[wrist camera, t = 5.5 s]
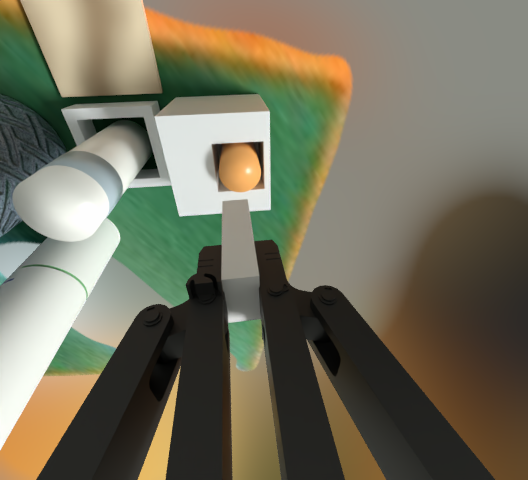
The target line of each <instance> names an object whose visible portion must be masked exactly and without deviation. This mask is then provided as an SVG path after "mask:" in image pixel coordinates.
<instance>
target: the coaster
mask: <svg viewBox="0 0 528 480" xmlns="http://www.w3.org/2000/svg"><path fill="white" fill-rule="evenodd" d="M20 1H21V3H22V5H23V8H24V10H25V12H26V15H27V17H28V19H29V22H30V24H31V26H32V29H33V31H34V33H35V36H36V38H37V40H38V43H39V45H40V47H41V50H42V52H43V54H44V57H45V59H46V61H47V64H48V66H49V68H50V71H51V73H52V75H53V78H54V80H55V82H56V85H57V87H58V89H59V92H60V94H61V96H62V97H80V96H105V95H131V94H156V93H163V90H162V86H161V81H160V77H159V72H158V68H157V63H156V59H155V54H154V50H153V45H152V41H151V36H150V32H149V27H148V23H147V18H146V14H145V9H144V5H143V1H142V0H20Z"/></svg>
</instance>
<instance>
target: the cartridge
mask: <svg viewBox="0 0 528 480" xmlns="http://www.w3.org/2000/svg"><path fill="white" fill-rule="evenodd" d="M152 151H153V149H152V146H151V142H150V139H149V135H148V133H147V131H146V130H145V129H144V128H143V127H142V126H140V125H139V124H137V123H135V122H133V121H129V120H119V121H116V122H114V123H113V124H111V125H109V126H108V127H106V128H105V129H103V130H102V131H100V132H98V133H97V134H95V135H94V136H92V137H91V138H89V139H88V140H86V141H84V142H83V143H81V144H80V145H78V146H77V147H75V148H73V149H72V150H70V151H69V152H67V153H65V154H63V155H61V156H59V157H58V158H56V159H55V160H53V161H52V162H50V163H48V164H47V165H45V166H44V167H42V168H41V169H39V170H38V171H37V172H36V173H34V174H33V175H31V176H30V177H28V178H27V179H25V180H24V181H22V182H21V183H19V184H18V185H17V186H16V188H15V189H14V192H13V197H12V198H13V204H14V207H15V210H16V212H17V213H18V215H19V216H20V218H21V219H22V220H23V221H24V222H25V223H26V224H27V225H28V226H29V227H31V228H32V229H34V230H35V231H37V232H38V233H40V234H42V235H44V236H47V237H49V238H52V239H55V240H59V241H67V242H75V241H81V240H84V239H87V238H89V237H90V236H92V235H93V234H94V233H95V231H96V230H97V229H98V227H99V226H100V225H101V223H102V222H103V221H104V220H105V219H106V218H107V216H108V215H109V214H110V212H111V211H112V209H113V208H114V207H115V205H116V204H117V203H118V201H119V200H120V198H121V196H122V195H123V193H124V192H125V191H126V189H127V188H128V186H129V185H130V184H131V182H132V181H133V180H134V178H135V177H136V176H137V174H138V173H139V171H140V170H141V169H142V167H143V166H144V165H145V163H146V162H147V161H148V159H149V158H150V156H151V154H152Z"/></svg>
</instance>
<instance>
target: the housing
mask: <svg viewBox="0 0 528 480" xmlns="http://www.w3.org/2000/svg"><path fill="white" fill-rule="evenodd" d="M61 111H62V113H63V115H64V117H65V120H66V122H67V124H68V127H69V129H70V131H71V133H72V136H73V138H74V140H75V142H76V145H77V146H78V145H80V144H81V143H83V142H84V141H86V140H88V139H89V138H91V137H92V136H94V135H95V134H97V132H96V129H95V127H94V124H93V122H92V119H109V118H131V117H144V120H145V124H146V128H147V131H148V135H149V139H150V142H151V146H152V149H153V153H154V157H155V160H156V164H157V168H158V169H145V170H140V171H139V173H138V174H137V176H136V177H135V178H134V180H133V181H132V182H131V184H130V185H129V186H128V188H136V187H151V186H167V185H172V189H173V193H174V197H175V201H176V205H177V208H178V212H179V216H190V215H204V214H218V213H222V201H230V200H243V199H248V205H249V211H259V210H271V199H270V111H269V109H268V108H267V106H266V105H265V103H264V101H263V100H262V98H261V97H260V95H259V94H245V95H221V96H196V97H176V98H175V99H174V100H172V101H171V102H170V103H169V104H168V105H167V106H166V107H165V108H163V109H162V110H161V111H160V108H159V104H158V101H138V102H114V103H89V104H74V105H72V106H69V107H66V108H63V109H61ZM241 142H253V143H254V145H255V148H256V152H257V156H258V160H259V164H260V168H261V177H260V180H259V182H258V183H257V185H256V186H255V187H254V188H252V189H251V190H249V191H246V192H234V191H231V190H229V189H228V188H226V187H225V186H224V185H223V183H222V182H221V180H220V177H219V164H220V153H221V145H222V143H241Z"/></svg>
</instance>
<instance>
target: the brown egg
mask: <svg viewBox="0 0 528 480" xmlns="http://www.w3.org/2000/svg"><path fill="white" fill-rule="evenodd" d="M219 177H220V180H221V182H222V183H223V185H224V186H225V187H226V188H228V189H229V190H231V191H234V192H246V191H249V190H251V189H252V188H254V187H255V186H256V185H257V183H258V182H259V180H260V177H261V168H260V164H259V160H258V156H257V152H256V148H255V145H254V143H253V142H241V143H222V145H221V153H220V164H219Z"/></svg>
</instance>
